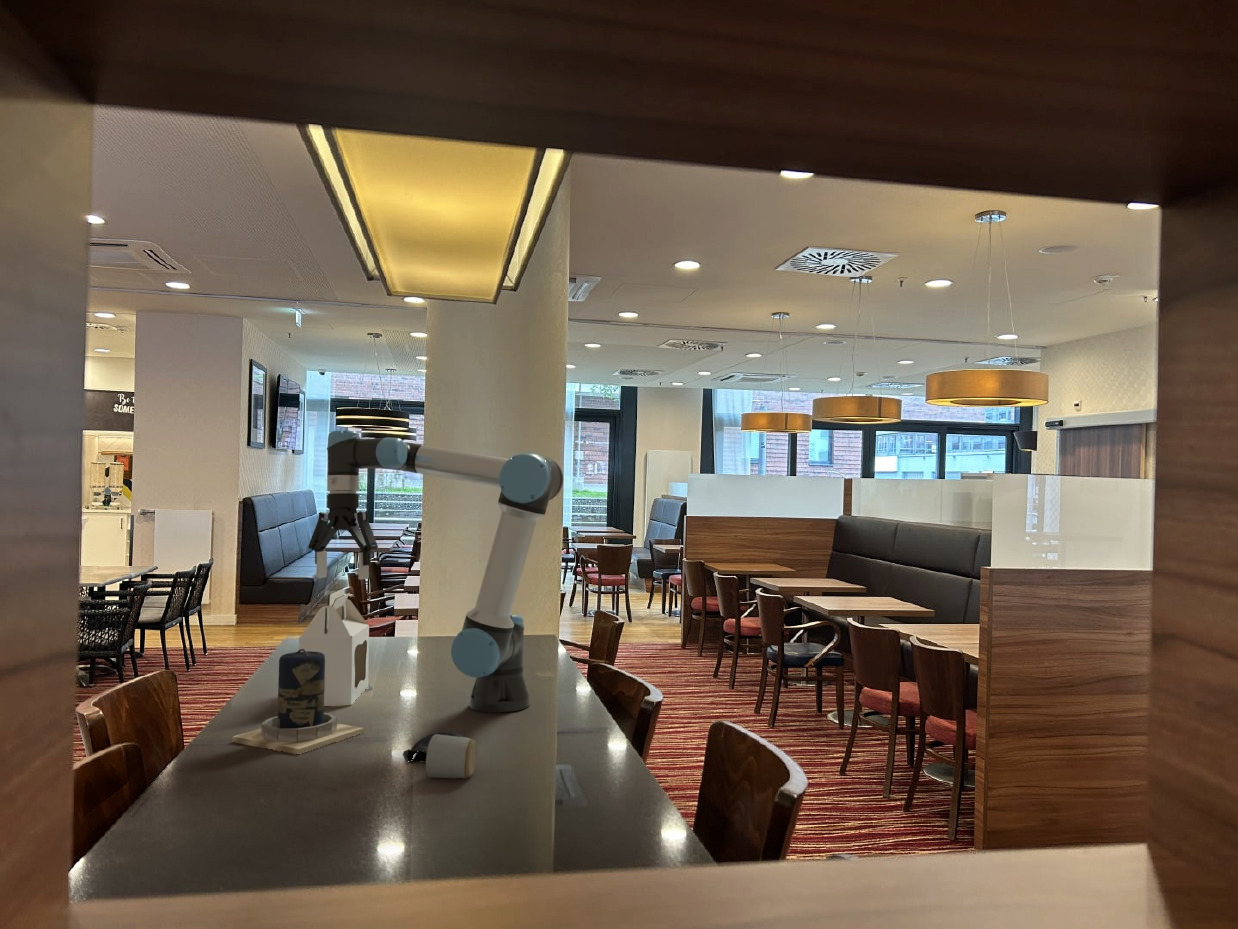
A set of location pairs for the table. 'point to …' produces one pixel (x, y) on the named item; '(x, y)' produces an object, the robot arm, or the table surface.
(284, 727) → the canister
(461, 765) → the ceramic mug
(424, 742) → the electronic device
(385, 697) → the table surface
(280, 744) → the ring holder board
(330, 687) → the gable box
